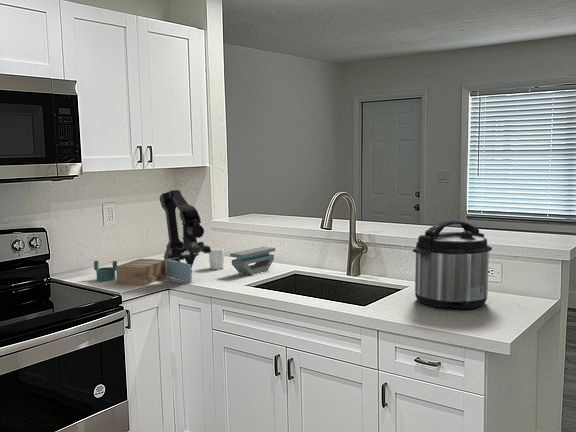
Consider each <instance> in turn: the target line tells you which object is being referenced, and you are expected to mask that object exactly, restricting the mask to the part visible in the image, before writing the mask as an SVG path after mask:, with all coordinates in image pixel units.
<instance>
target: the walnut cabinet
mask: <svg viewBox="0 0 576 432" xmlns="http://www.w3.org/2000/svg"><path fill="white" fill-rule="evenodd" d="M115 278H116V285H127V286H128V285H130V286H131V285H133V286H142V287H143V286H144V287H145V286H147V285H150V284H151V283H155V282H156V281H159V280H162V279H165V278H167V276H166V260H164V259H153V258H138V259H135V260H132V261H128V262H125V263H122V264H119V265H117V266H116V271H115Z"/></svg>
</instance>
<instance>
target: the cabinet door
mask: <svg viewBox="0 0 576 432" xmlns="http://www.w3.org/2000/svg"><path fill="white" fill-rule="evenodd" d="M192 274H193V270H192V268H191V264H187V263H186V262H181V261H180V262H178V261H173V260H169V259H166V277H168V278H172V279H176V280H179V281H183V282H187V283H192V278H193V277H192V276H193V275H192Z"/></svg>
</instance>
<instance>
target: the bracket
mask: <svg viewBox="0 0 576 432" xmlns="http://www.w3.org/2000/svg"><path fill="white" fill-rule="evenodd" d="M116 266H118V261H117V260H113V261H112V266H108V267H107V266H106V267H99V260H93V270H94V271H96V282H101V283H105V282H112V281H115V280H116Z"/></svg>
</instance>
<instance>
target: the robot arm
mask: <svg viewBox="0 0 576 432" xmlns="http://www.w3.org/2000/svg"><path fill="white" fill-rule="evenodd" d="M181 192H182V191H181V190H179V189H178V190H177V189H174V190H173V189H171V190H169V191H168V192H165V193H164V192H163V193H162V194H160V195H159V202H160V204H161V205H160V206H161V208H162V209H163V211H164V212H165V217H166V227H167V235H168V242H167V244H166V250H165V253H164V255H163V260H166V259H169V260H173V261H178V262H181V261H183V260H185V263H186V264H191V269H192V267H193V265H194V262H195V259H196V258H197V257H198V256H199V255H200V253H201V252H203V253H204V254H209V253H210V252H211V247H210V246H209V245H206V244H205V242H204V241H199V242H198V240H197V239H199V238H202V237H203V236H204V233H205V229H204V227H203V226H202V225H201V220H202V218H201V217H200V214H199V212H198V210H197V208H196V207H195V206H193V205H191V204H189V203H188V202H187V200H186V199H185V198H184V196H183V195H182V193H181ZM176 209H178V210H179V214H178V215H179V219H180V221H182V222H181V225H182V238H181V239H182V241H181V240H180V237H179V230H178V221H177V220H178V219H177V215H176V214H177V213H176Z"/></svg>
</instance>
